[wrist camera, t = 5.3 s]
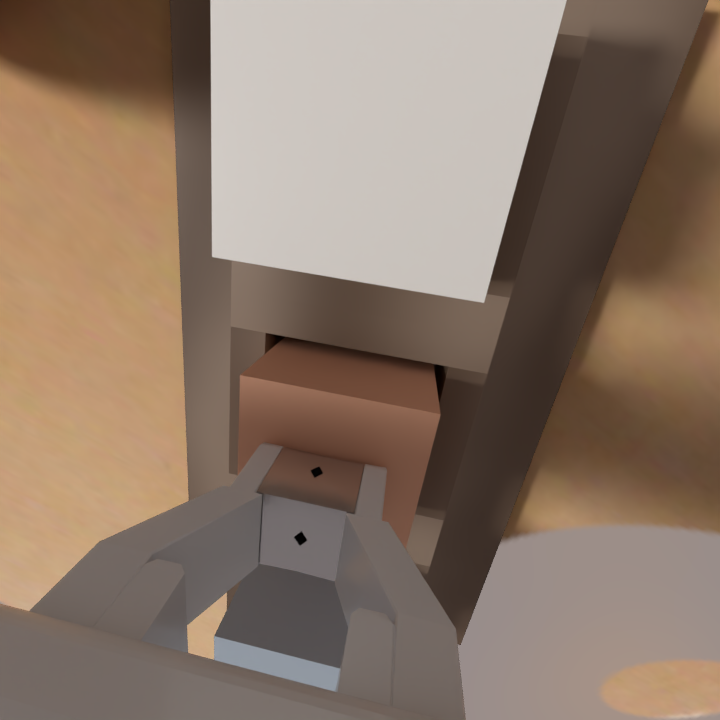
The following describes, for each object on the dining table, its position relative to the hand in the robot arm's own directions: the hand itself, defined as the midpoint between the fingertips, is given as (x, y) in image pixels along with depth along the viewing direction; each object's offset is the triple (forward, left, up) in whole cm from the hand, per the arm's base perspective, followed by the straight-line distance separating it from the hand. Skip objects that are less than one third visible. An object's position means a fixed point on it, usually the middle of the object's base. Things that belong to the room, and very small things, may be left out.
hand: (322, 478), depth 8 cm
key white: (0, -7, -3) cm, 8 cm away
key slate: (0, +7, -3) cm, 7 cm away
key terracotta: (0, 0, -4) cm, 4 cm away
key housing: (0, 0, -5) cm, 5 cm away
